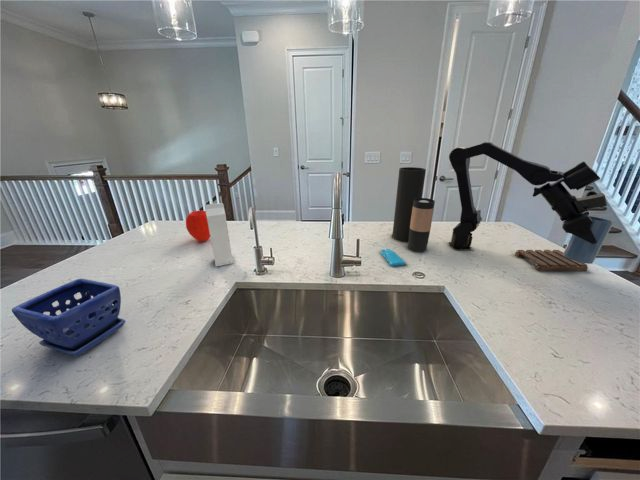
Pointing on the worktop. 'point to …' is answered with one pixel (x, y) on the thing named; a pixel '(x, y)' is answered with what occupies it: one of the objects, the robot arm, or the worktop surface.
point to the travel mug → (420, 224)
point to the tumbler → (585, 250)
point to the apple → (198, 225)
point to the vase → (407, 199)
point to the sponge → (392, 257)
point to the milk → (219, 233)
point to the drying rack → (551, 260)
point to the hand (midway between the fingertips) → (593, 239)
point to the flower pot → (73, 315)
